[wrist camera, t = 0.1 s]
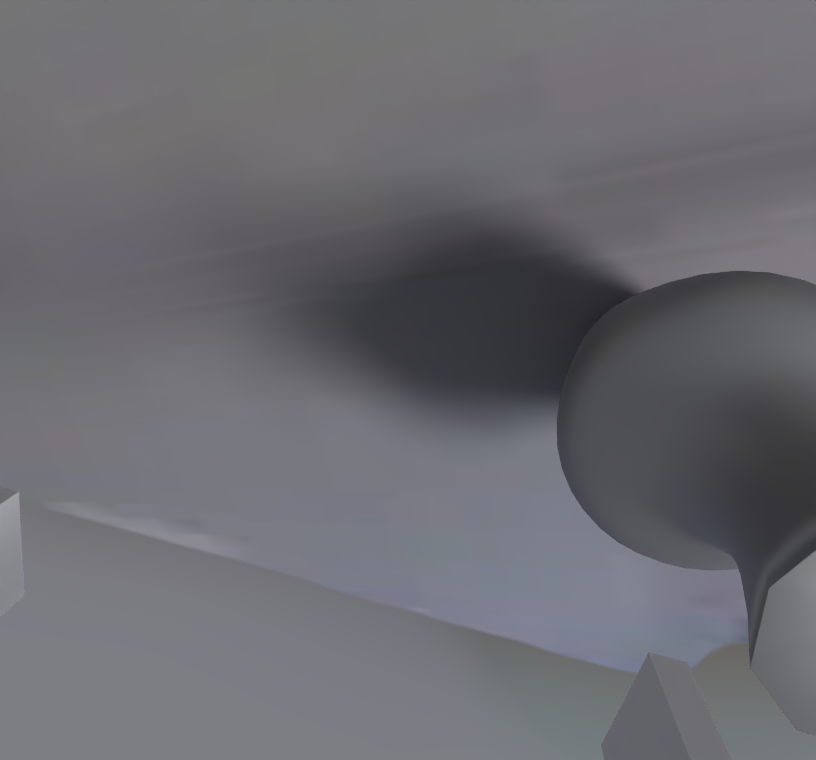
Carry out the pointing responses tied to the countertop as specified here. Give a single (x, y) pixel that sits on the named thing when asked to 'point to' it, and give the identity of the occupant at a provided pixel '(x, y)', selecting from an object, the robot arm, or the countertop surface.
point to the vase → (710, 449)
